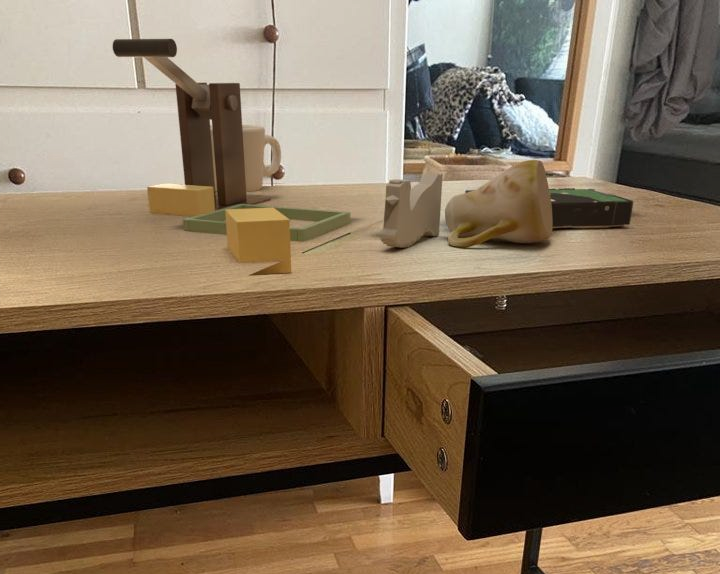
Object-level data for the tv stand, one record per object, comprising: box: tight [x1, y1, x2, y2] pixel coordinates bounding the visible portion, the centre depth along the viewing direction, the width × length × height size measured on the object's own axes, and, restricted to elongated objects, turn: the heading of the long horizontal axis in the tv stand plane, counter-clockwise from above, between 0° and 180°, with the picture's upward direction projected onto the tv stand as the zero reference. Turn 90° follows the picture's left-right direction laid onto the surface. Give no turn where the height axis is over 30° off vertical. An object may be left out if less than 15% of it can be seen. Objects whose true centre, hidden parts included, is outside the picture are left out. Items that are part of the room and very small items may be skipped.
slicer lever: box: [112, 38, 212, 121], centre depth 74 cm, size 13×6×2 cm, turn 157°
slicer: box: [174, 81, 272, 211], centre depth 81 cm, size 10×8×13 cm
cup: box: [210, 124, 282, 193], centre depth 95 cm, size 11×8×8 cm
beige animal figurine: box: [379, 172, 443, 249], centre depth 69 cm, size 6×1×10 cm
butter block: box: [146, 183, 215, 217], centre depth 78 cm, size 6×3×4 cm, turn 67°
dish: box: [182, 204, 351, 254], centre depth 72 cm, size 12×10×2 cm
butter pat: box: [225, 208, 292, 276], centre depth 61 cm, size 6×4×4 cm, turn 17°
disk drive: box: [464, 187, 634, 230], centre depth 80 cm, size 10×3×15 cm
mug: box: [444, 159, 554, 248], centre depth 70 cm, size 8×10×10 cm
